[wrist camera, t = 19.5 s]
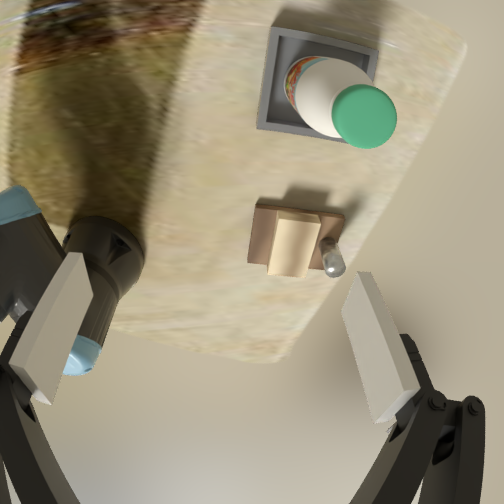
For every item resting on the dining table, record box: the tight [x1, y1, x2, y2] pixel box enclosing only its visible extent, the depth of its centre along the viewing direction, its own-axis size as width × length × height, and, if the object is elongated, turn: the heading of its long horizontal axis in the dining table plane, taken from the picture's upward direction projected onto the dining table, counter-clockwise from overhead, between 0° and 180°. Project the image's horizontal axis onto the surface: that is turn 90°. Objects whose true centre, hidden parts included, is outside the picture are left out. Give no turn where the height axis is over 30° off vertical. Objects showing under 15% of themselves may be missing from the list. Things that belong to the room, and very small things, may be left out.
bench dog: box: [318, 237, 346, 278], centre depth 46 cm, size 3×3×6 cm
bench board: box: [248, 204, 345, 270], centre depth 49 cm, size 14×10×1 cm
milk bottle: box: [284, 56, 397, 149], centre depth 27 cm, size 8×8×20 cm
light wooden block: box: [267, 210, 321, 278], centre depth 47 cm, size 6×10×2 cm, turn 173°
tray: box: [256, 26, 379, 144], centre depth 34 cm, size 13×13×3 cm
